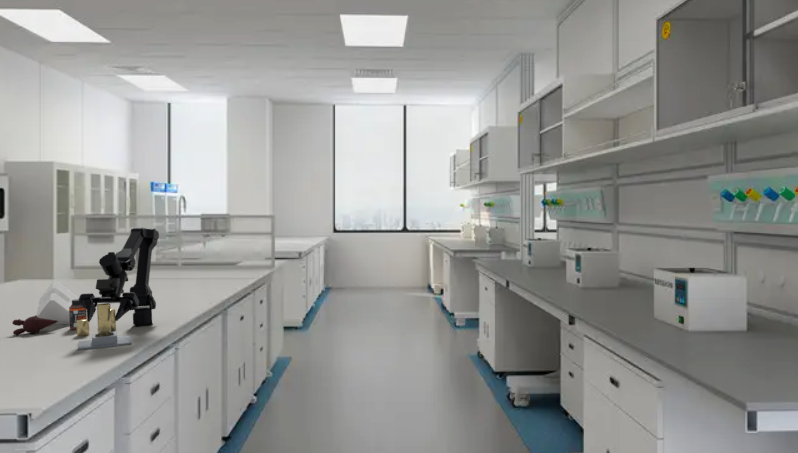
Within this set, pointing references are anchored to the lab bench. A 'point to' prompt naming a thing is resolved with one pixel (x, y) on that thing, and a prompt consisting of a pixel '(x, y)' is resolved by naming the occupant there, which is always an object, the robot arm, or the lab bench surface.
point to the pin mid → (113, 320)
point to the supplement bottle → (76, 313)
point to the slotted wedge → (56, 303)
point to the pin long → (104, 320)
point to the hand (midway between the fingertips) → (102, 320)
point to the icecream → (32, 324)
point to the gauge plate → (104, 341)
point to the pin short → (82, 327)
